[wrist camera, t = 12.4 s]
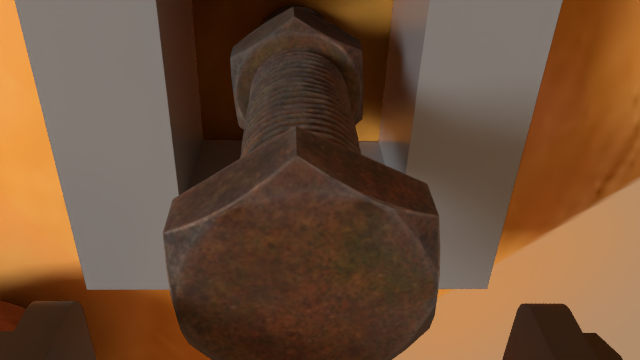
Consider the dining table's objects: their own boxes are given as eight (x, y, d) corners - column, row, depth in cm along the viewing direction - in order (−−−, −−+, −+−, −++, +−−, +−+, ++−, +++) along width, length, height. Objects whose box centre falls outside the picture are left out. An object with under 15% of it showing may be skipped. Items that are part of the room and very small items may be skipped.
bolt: (323, -55, 21) (374, 121, 9) (387, 53, 24) (500, 314, 11) (202, 28, 23) (95, 282, 10) (273, 122, 25) (258, 422, 13)
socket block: (526, -175, 20) (607, -173, 15) (452, 204, 28) (487, 288, 23) (52, -195, 19) (-36, -200, 14) (124, 202, 27) (86, 289, 22)
